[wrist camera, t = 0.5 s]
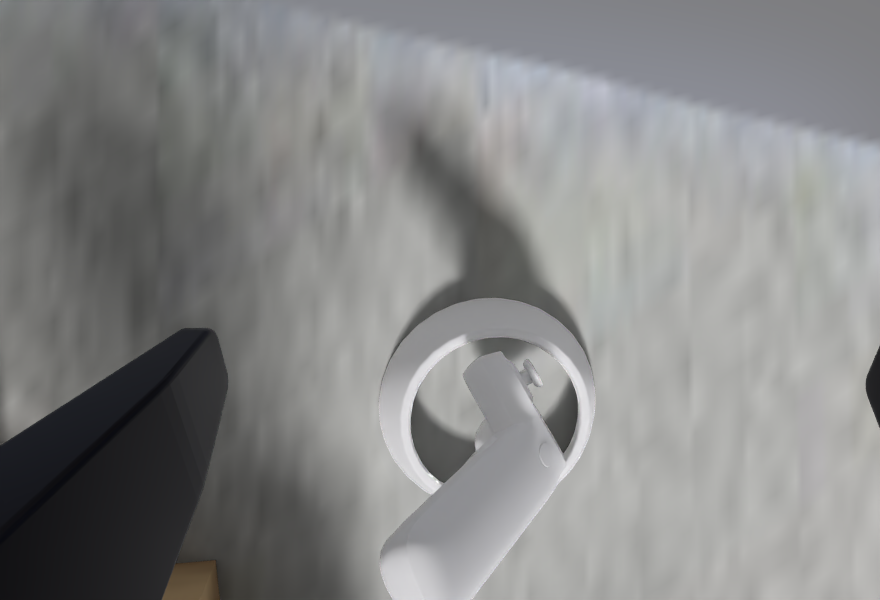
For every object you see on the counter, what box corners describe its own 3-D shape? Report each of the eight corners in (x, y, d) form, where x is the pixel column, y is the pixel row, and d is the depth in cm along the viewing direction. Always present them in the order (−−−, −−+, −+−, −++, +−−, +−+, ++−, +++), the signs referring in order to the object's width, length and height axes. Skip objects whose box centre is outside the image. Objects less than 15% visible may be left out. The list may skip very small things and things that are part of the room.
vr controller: (160, 472, 18) (321, 382, 14) (409, 326, 27) (546, 248, 23) (303, 721, 18) (507, 706, 14) (501, 486, 27) (654, 436, 23)
